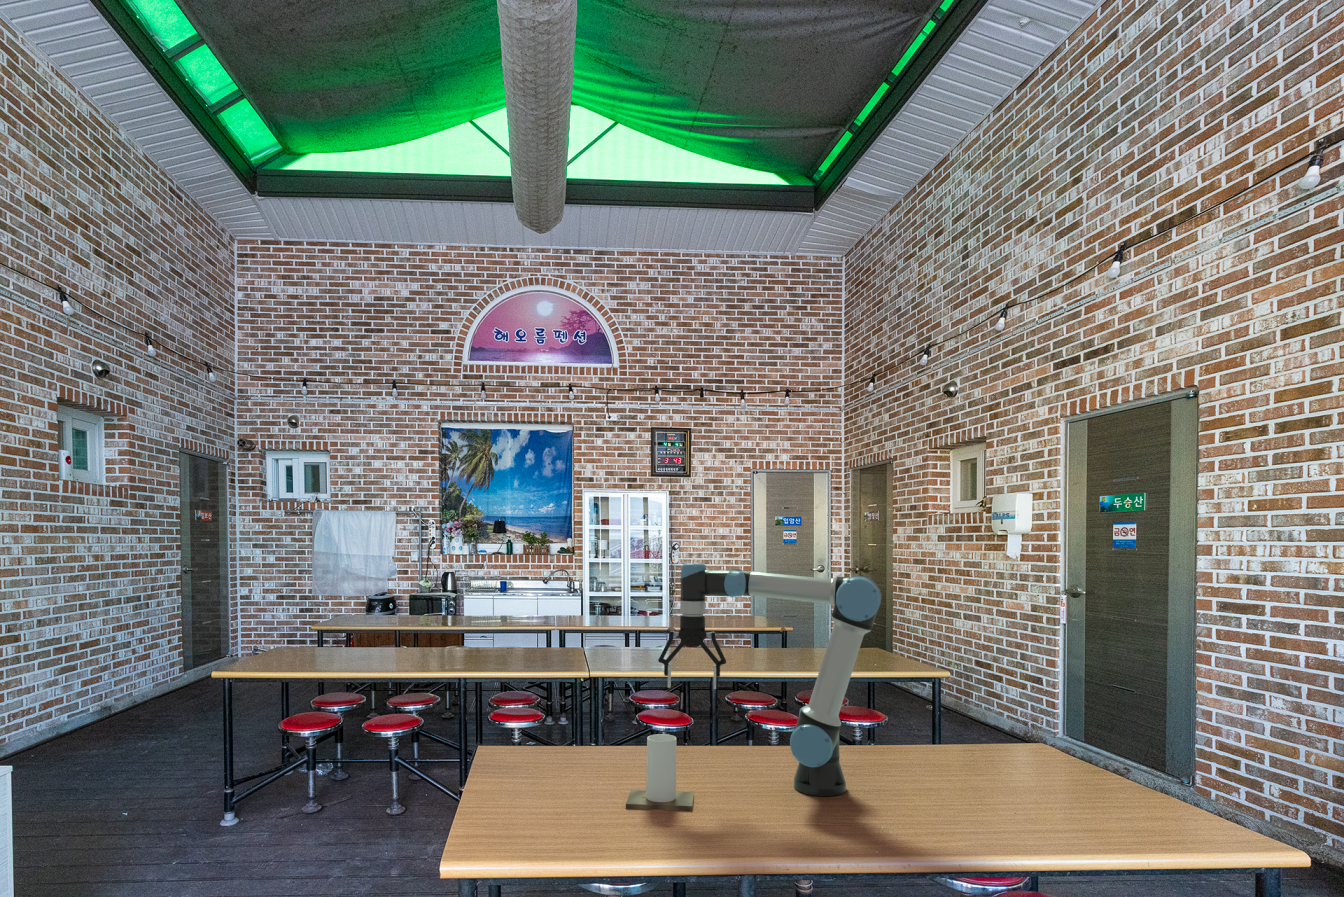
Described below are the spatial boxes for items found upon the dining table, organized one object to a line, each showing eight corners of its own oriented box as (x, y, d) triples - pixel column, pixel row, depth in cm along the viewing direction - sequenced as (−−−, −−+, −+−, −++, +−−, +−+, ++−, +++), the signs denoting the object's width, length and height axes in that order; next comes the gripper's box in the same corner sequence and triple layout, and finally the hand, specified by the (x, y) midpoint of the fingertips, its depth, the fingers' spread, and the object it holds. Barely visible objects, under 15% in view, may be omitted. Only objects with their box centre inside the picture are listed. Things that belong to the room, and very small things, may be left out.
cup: (677, 793, 216) (677, 734, 218) (674, 803, 208) (675, 741, 210) (648, 792, 217) (649, 733, 219) (644, 801, 209) (645, 740, 211)
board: (693, 796, 218) (693, 791, 218) (692, 810, 206) (692, 805, 206) (630, 794, 219) (630, 789, 219) (625, 808, 207) (625, 803, 207)
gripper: (733, 614, 234) (733, 686, 232) (652, 613, 236) (651, 684, 233) (734, 617, 227) (734, 691, 224) (650, 615, 228) (649, 688, 226)
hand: (691, 687), depth 229 cm, fingers open, 13 cm apart
